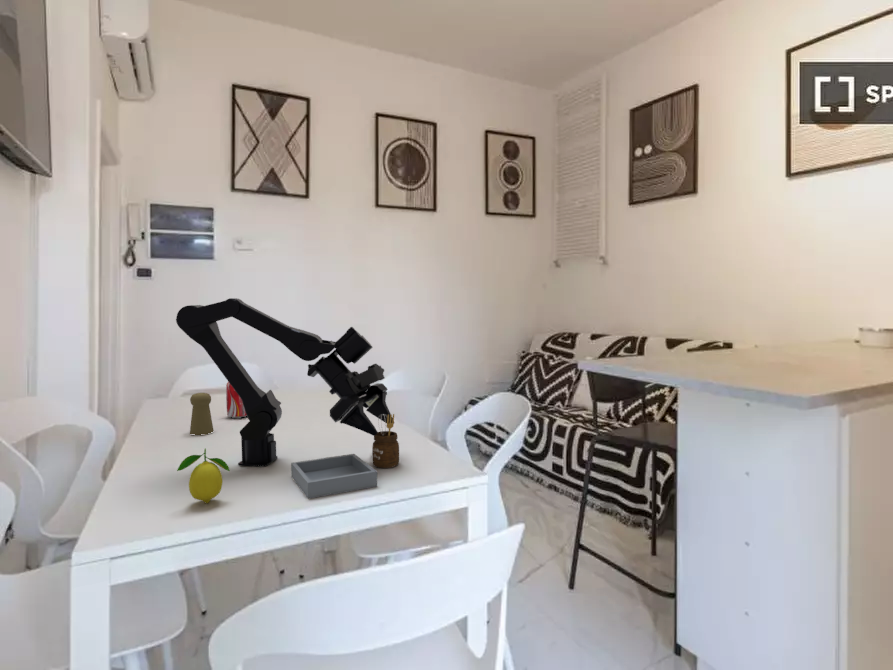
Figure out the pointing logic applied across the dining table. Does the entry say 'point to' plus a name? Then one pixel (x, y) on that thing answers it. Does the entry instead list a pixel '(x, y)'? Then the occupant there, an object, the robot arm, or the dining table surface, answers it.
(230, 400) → the soda can
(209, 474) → the lemon
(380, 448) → the utensil holder
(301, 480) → the tray
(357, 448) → the dining table surface
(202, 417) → the cork
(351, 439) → the dining table surface
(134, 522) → the dining table surface
